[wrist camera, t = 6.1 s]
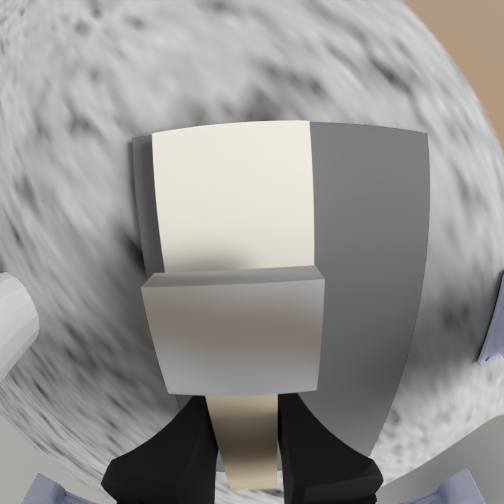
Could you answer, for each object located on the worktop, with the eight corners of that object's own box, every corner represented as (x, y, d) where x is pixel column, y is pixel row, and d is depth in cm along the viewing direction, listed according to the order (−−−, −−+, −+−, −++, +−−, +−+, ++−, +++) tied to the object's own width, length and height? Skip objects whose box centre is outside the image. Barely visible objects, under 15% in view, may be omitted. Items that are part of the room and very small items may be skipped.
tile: (307, 263, 12) (302, 127, 11) (314, 274, 11) (309, 120, 9) (175, 270, 12) (163, 137, 11) (166, 281, 11) (152, 133, 9)
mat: (421, 134, 11) (427, 133, 10) (367, 451, 17) (369, 456, 17) (137, 140, 11) (132, 138, 11) (204, 465, 17) (203, 470, 17)
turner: (292, 423, 15) (301, 485, 10) (215, 425, 15) (206, 487, 10) (296, 238, 12) (324, 279, 7) (182, 244, 12) (140, 287, 7)
